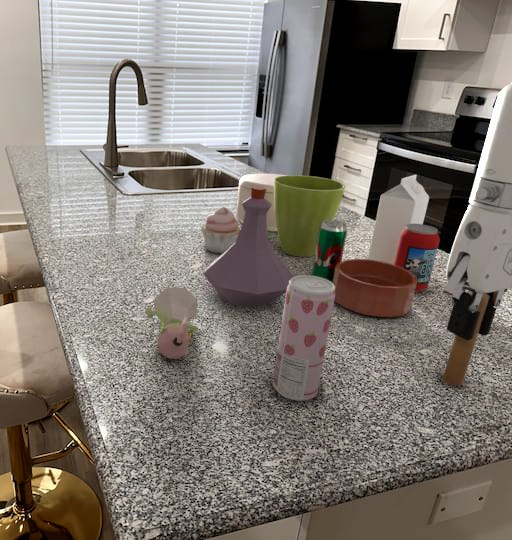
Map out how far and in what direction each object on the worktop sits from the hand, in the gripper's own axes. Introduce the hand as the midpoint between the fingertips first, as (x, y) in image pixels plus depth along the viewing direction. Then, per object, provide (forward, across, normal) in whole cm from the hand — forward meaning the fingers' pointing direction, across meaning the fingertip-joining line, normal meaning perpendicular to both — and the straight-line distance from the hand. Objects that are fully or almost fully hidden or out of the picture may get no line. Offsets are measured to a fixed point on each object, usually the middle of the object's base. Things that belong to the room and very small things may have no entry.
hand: (467, 331), depth 67 cm
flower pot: (+8, +15, +49) cm, 52 cm away
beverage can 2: (+8, +22, +26) cm, 34 cm away
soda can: (+8, +8, +34) cm, 35 cm away
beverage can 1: (+8, -22, +7) cm, 24 cm away
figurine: (+8, -31, +24) cm, 40 cm away
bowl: (+8, +8, +23) cm, 25 cm away
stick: (+8, 0, 0) cm, 8 cm away
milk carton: (+8, +29, +36) cm, 47 cm away
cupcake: (+8, -2, +57) cm, 57 cm away
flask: (+8, -11, +33) cm, 36 cm away
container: (+8, +22, +70) cm, 74 cm away
